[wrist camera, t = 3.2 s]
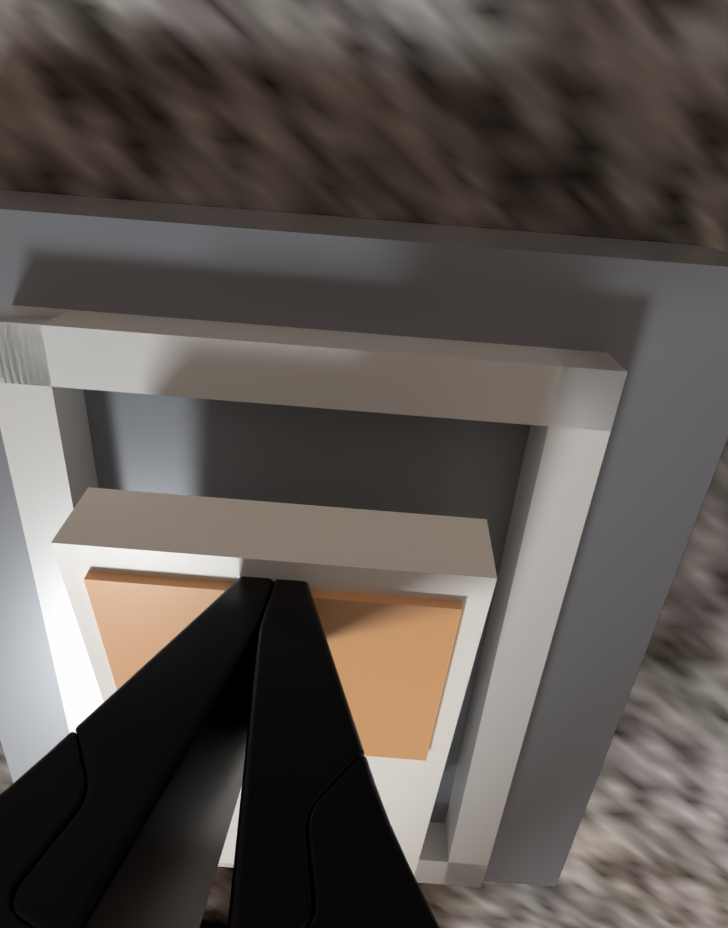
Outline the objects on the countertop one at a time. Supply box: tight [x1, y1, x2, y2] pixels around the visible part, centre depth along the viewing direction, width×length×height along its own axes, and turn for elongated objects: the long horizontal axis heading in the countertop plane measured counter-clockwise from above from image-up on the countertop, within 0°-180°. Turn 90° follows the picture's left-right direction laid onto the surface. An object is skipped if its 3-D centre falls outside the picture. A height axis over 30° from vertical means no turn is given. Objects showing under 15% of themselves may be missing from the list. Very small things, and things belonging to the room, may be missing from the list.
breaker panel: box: [0, 190, 728, 888], centre depth 14 cm, size 17×15×4 cm
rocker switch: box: [51, 487, 497, 875], centre depth 11 cm, size 10×6×1 cm, turn 176°
